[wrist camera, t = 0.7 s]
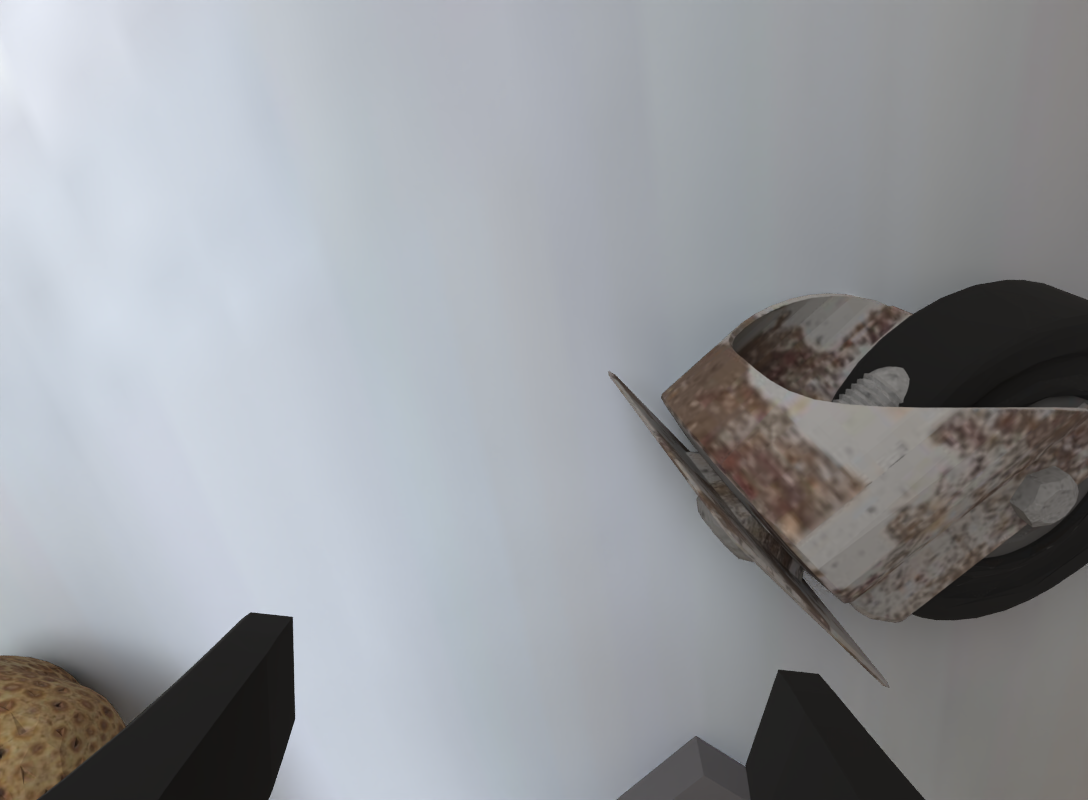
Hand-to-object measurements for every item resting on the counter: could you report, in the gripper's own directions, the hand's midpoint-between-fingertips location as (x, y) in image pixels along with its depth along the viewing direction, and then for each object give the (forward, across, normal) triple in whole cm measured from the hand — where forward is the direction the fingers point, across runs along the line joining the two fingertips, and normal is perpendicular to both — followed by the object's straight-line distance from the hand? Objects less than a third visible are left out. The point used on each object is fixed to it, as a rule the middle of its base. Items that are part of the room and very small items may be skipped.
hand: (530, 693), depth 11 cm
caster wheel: (+10, -9, -2) cm, 14 cm away
